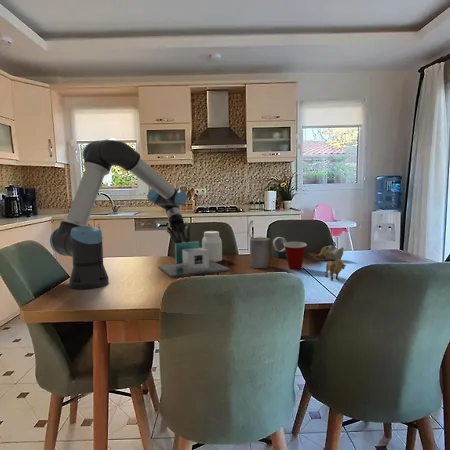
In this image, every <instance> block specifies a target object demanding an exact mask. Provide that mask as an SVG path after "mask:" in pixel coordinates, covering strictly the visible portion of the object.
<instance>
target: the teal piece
mask: <svg viewBox="0 0 450 450" xmlns="http://www.w3.org/2000/svg"><path fill="white" fill-rule="evenodd" d="M174 246H175V247H174V248H175V249H174V253H175V264H182V263H183V254H182V249H193V248H201V246H200V241H199V240H196V241H189V242H184V243H175V242H174ZM198 259H199V257H198V256H194V261H198Z"/></svg>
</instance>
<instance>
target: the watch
mask: <svg viewBox="0 0 450 450" xmlns="http://www.w3.org/2000/svg"><path fill="white" fill-rule="evenodd" d="M279 239H280V242H281V244H282V245H283V248H282V249H280V250H279V249H278V247H277V246H276V241H278V240H279ZM284 243H287V240H286V238H284V236H283V237H281V236H277V237H275V238H274V239H273V240H272V247H273V249H274V252H273V253H274V257H275V258H277V259H284V258H283V257H286V258H287V255H286V250H285V247H284Z"/></svg>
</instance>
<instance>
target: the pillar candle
mask: <svg viewBox="0 0 450 450" xmlns="http://www.w3.org/2000/svg"><path fill="white" fill-rule="evenodd" d="M249 267H250V268H253V269H268V268H270V267H271V239H270V238H269V237H261V236H259V237H252V238H250V239H249Z"/></svg>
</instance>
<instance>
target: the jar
mask: <svg viewBox="0 0 450 450" xmlns="http://www.w3.org/2000/svg"><path fill="white" fill-rule="evenodd" d="M222 245H223V241H222V238H221V237H220V231H215V230H209V231H204V232H203V237H202V239H201V248H204V249H207V250H209V261H210V260H211V261H214V262H216V263H218V262H221V261H223V246H222Z"/></svg>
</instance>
